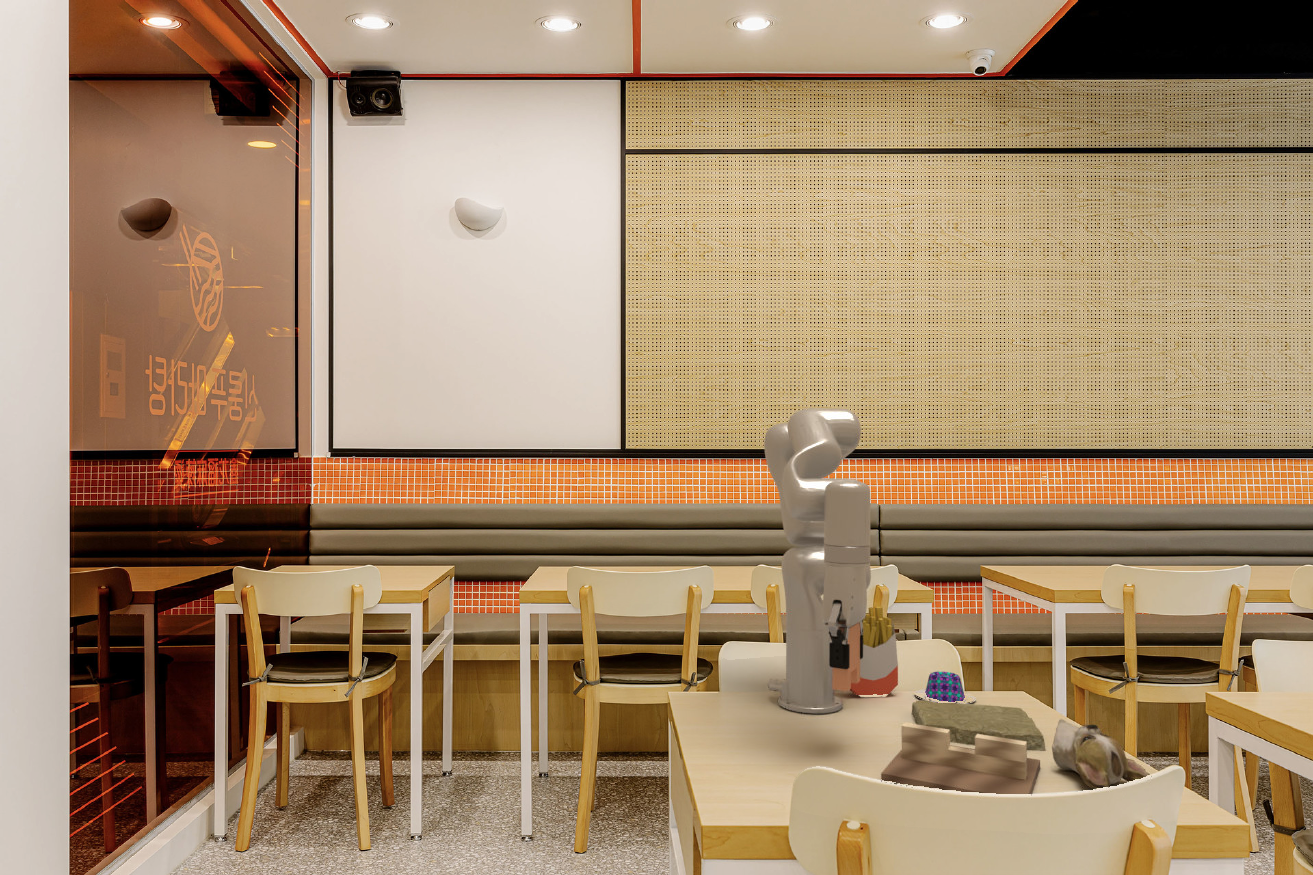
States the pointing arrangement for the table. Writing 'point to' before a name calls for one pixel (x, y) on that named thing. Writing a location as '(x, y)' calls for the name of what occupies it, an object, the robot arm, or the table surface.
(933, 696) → the pudding
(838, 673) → the notched plate
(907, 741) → the slotted stand
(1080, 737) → the ceramic sculpture
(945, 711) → the decorative tile
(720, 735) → the table surface
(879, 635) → the french fries container
